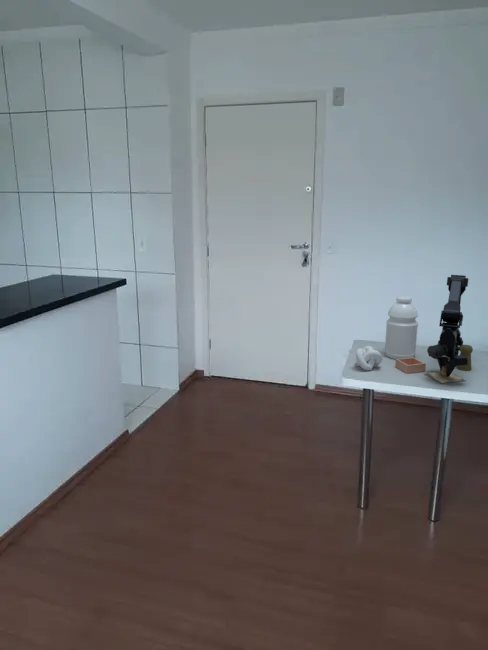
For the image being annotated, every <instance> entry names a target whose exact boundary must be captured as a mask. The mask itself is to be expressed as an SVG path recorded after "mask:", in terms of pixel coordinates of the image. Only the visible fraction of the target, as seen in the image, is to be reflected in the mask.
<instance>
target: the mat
mask: <svg viewBox="0 0 488 650" xmlns="http://www.w3.org/2000/svg"><path fill="white" fill-rule="evenodd" d="M423 375H424V376H426V377H428V378H429V379H432V380H433V381H435V382H437V383H439V384H440V385H446V384H448V385H449V384H454V383H463V382H467V380H465V379H464V378H463V381H455V382H447V383H441V382H439V381H438V380H436V379H434V378H432V377H430V376H428V375H427V373H423Z"/></svg>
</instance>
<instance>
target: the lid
mask: <svg viewBox="0 0 488 650" xmlns="http://www.w3.org/2000/svg"><path fill="white" fill-rule="evenodd" d="M446 368H447V366H446V365H443V366H442V370H441V371H433V372H432V371H431V372H427V373H426V374H427V375H428V376H430V377H432V378H434V379H436V380H438V381H439V382H441V383H447V382H455V381H463V379H464V378H462V377H461V376H459V375H457V374H455V373H453V372H452V373H451V374H450V376H447V375H446ZM428 376H427V377H428Z"/></svg>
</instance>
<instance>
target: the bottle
mask: <svg viewBox="0 0 488 650" xmlns="http://www.w3.org/2000/svg"><path fill="white" fill-rule="evenodd" d="M395 300H396V302H395V303H393V305H392V306H390V308H389V310H388V311H387V312H388V313H387V315H388V316H389V318H388V319H387V320H386V328H385V329H386V330H385V344H384V345H385V346H384V355H385V356H386V357H388V358H389V359H393V360H396V359H402V358H412V357H414V358H416V349H417V339H418V338H417V336H418V335H417V334H418V327H419V322H418V321H417V320H416V319H417V318H418V317H419V315H418V311H417V310H416V307H415V306H414V304H413V303H412V300H413V299H412V297H411V296H406V295H405V296H404V295H401V296H399V295H398V296H397V297H396V299H395Z"/></svg>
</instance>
